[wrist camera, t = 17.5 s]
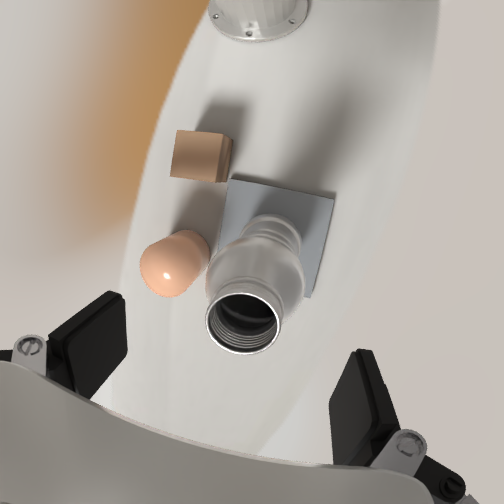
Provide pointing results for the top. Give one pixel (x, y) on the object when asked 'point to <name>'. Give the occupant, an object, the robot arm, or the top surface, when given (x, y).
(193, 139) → the copper block
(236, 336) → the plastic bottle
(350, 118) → the top surface
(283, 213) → the slate mat
